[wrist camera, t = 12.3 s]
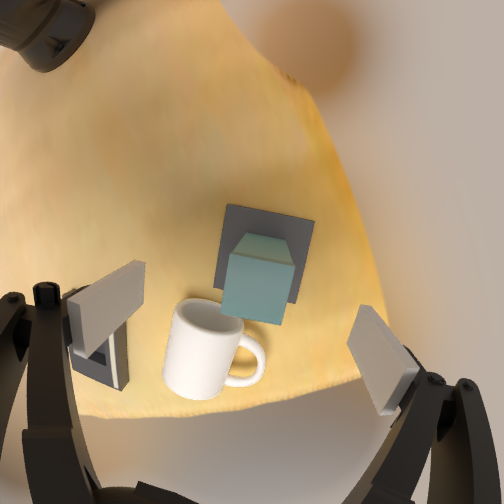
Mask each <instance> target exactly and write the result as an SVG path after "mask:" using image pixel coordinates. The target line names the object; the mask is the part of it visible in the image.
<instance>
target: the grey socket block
mask: <svg viewBox="0 0 504 504" xmlns="http://www.w3.org/2000/svg"><path fill="white" fill-rule="evenodd" d="M74 291H76V289H73V290H71V291H69V292H67V293H65V294H63V295H62V298H64V297H66V296H67V295H69V294H71V293H73V292H74ZM68 347H69V352H70V358H71V363H72V368H73V370H75V371H77V372H79V373H81V374H83V375H85V376H87V377H89V378H92V379H94V380H96V381H98V382H100V383H103V384H105V385H107V386H109V387H112V388H114V389H117V390H119V391H122V390H123V389H124V387H125V386H126V385H127V383H128V382H129V374H128V359H127V338H126V321H125V322H124V323H123V324H122V325H121V326H120V327H119V328H117V329H116V330H115V331H114V332H113V333H112V334H111V335H110V336H109V337H108V338H107V339H106V340H105V341H104V342H103V343H102V344H101V345H100V346H99V347H98V348H97V349H96V350H95V351H94V352H93V353H92V354H91V355H90V356H89V357H88V358H87V359H85V358H83V357H81V356H79V355H77V354H74V350H73V345H72V343H71V344H70V345H69V346H68Z"/></svg>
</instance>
